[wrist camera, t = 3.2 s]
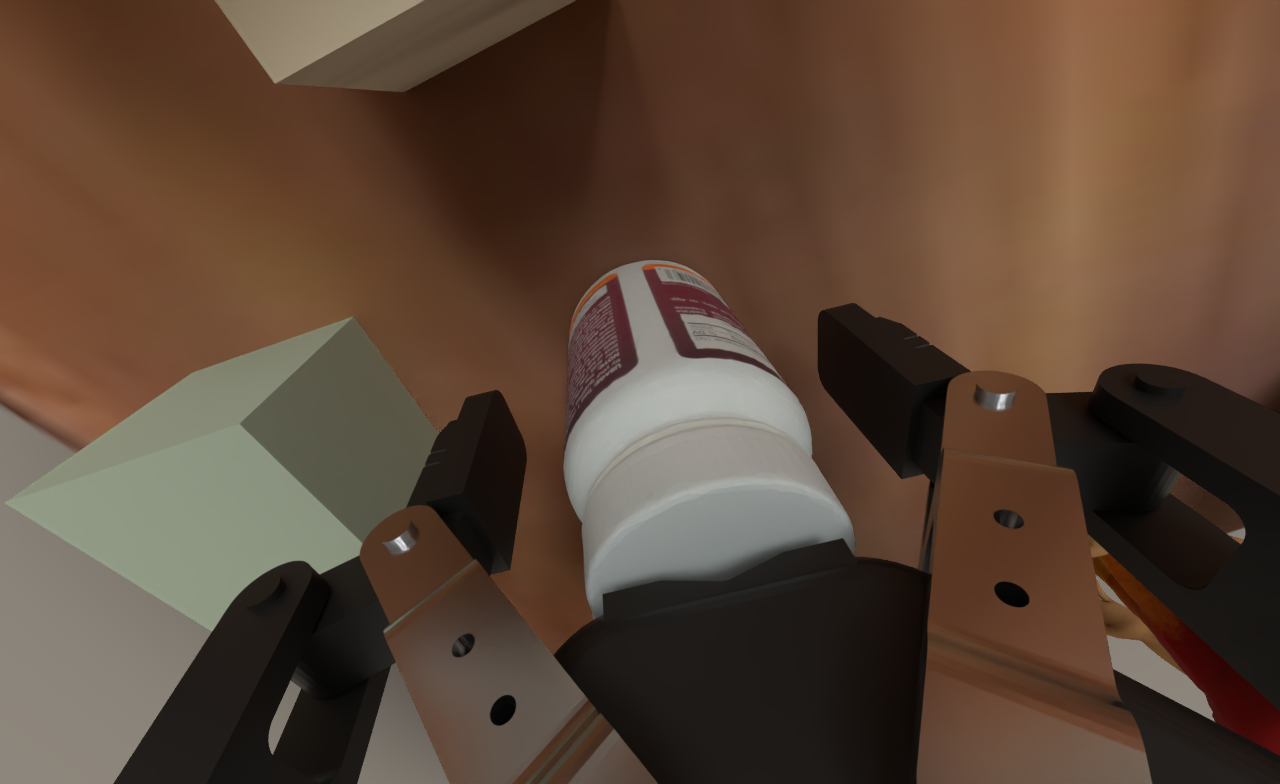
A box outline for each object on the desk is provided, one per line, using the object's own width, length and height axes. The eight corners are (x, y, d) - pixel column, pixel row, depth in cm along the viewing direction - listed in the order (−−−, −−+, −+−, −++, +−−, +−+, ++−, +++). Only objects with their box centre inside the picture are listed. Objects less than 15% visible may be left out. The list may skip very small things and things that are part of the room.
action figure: (952, 440, 17) (1934, 1330, 5) (1048, 389, 16) (2562, 1314, 4) (1002, 555, 22) (1567, 1163, 9) (1079, 520, 21) (1816, 1137, 8)
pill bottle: (602, 419, 15) (621, 696, 8) (542, 289, 12) (492, 531, 5) (740, 374, 15) (887, 623, 8) (707, 230, 12) (883, 407, 5)
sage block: (194, 371, 13) (4, 503, 9) (355, 315, 12) (239, 423, 8) (315, 490, 15) (216, 634, 11) (450, 447, 15) (399, 579, 11)
